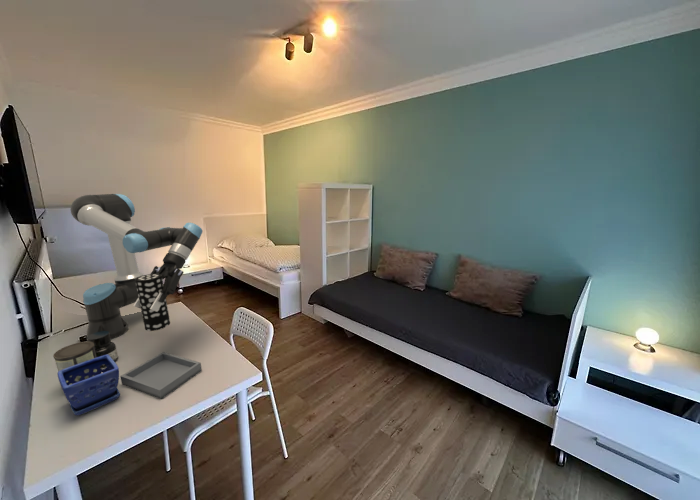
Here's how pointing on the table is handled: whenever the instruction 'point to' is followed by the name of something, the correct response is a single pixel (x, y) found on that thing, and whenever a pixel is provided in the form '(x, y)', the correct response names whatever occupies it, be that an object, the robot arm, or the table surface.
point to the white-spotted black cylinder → (147, 295)
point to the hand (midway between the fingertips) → (145, 308)
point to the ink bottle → (103, 345)
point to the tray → (161, 374)
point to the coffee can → (75, 356)
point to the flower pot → (90, 384)
